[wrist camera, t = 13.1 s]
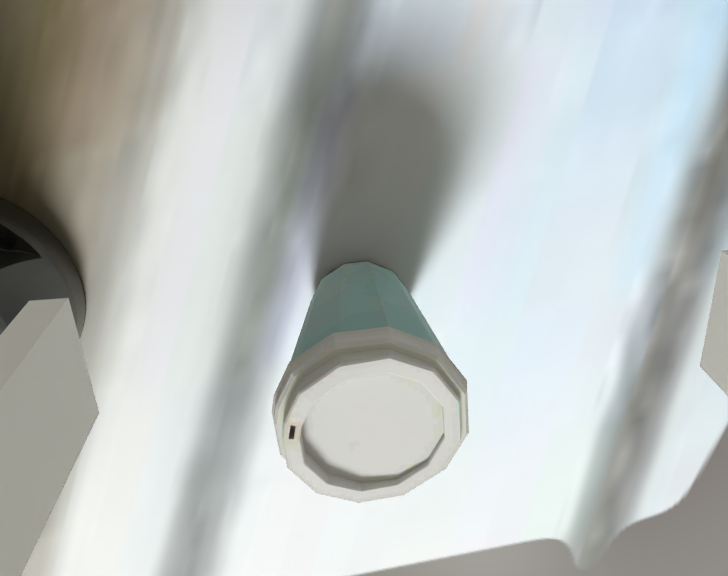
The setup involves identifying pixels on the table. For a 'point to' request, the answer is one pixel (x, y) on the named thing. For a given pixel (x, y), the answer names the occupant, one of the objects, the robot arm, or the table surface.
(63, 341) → the robot arm
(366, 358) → the disposable coffee cup
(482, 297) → the table surface
